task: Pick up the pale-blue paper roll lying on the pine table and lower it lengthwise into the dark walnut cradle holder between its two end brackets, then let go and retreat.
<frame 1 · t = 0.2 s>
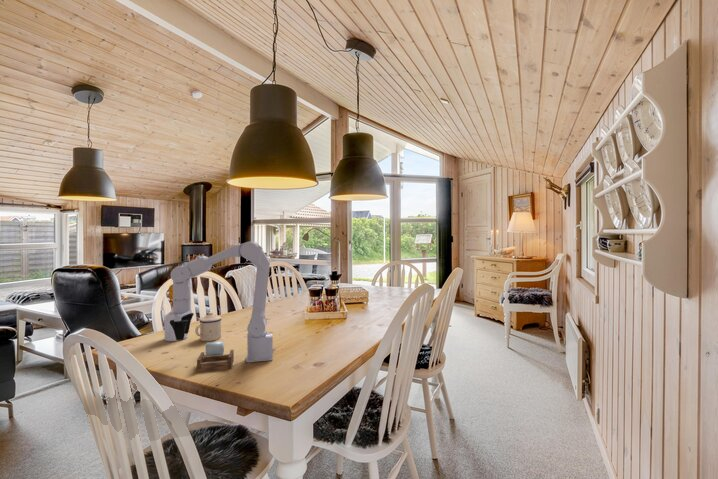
hand: (182, 336, 124), 10 cm above the table, fingers open, 7 cm apart
roll: (215, 355, 133), on the table
holder: (216, 365, 122), on the table
beige mug: (207, 339, 153), on the table
soap bottle: (176, 339, 154), on the table
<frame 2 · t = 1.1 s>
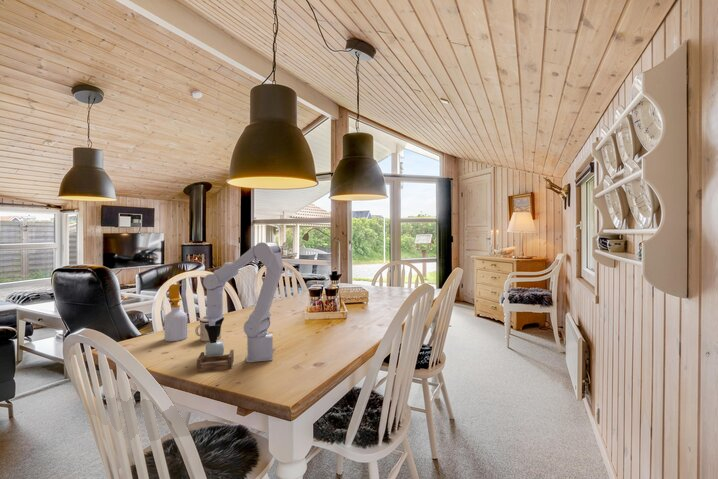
hand: (214, 339, 133), 6 cm above the table, fingers open, 7 cm apart
nothing on the table moved.
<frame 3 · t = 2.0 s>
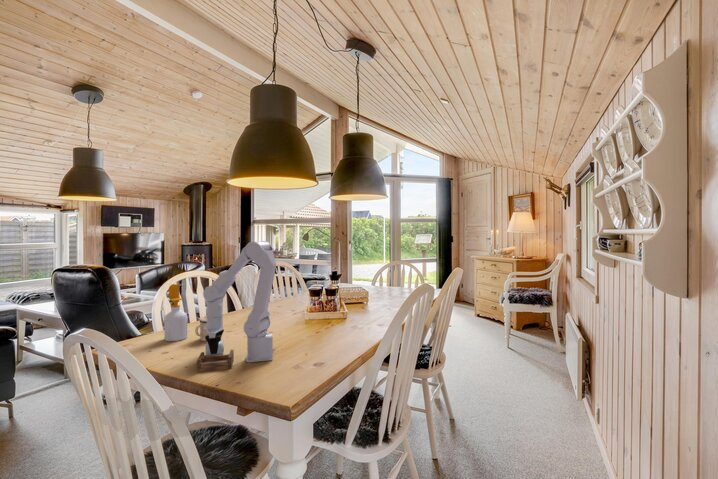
hand: (215, 351, 133), 1 cm above the table, fingers closed on roll, 5 cm apart
roll: (215, 354, 133), on the table, touching gripper
everything else where it was.
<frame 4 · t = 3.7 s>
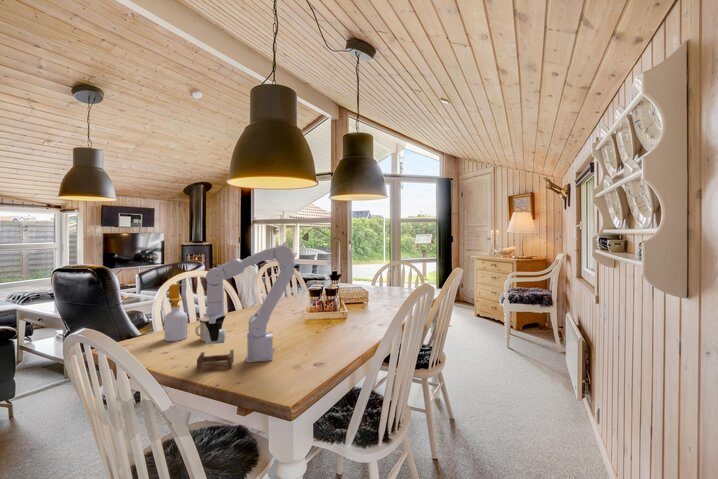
hand: (215, 338, 125), 9 cm above the table, fingers closed on roll, 5 cm apart
roll: (215, 343, 125), point 7 cm above the table, touching gripper
everything else where it was.
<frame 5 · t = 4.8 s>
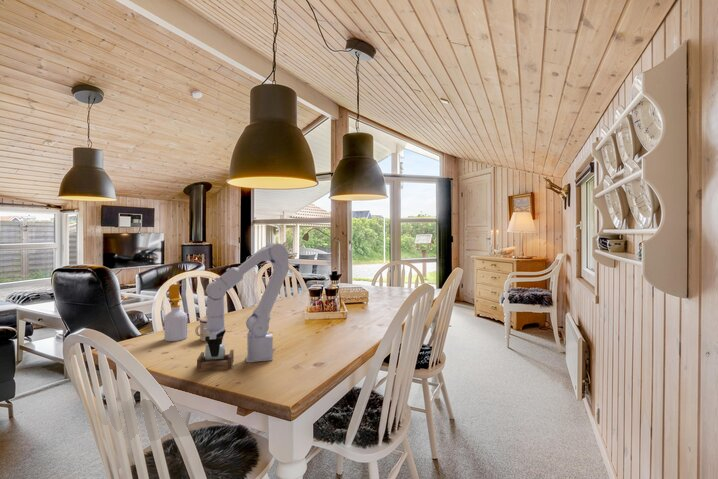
hand: (215, 353, 122), 4 cm above the table, fingers closed on roll, 5 cm apart
roll: (215, 358, 122), point 3 cm above the table, tilted 6°, touching gripper
everything else where it was.
when the fingers open (4 cm above the table, at t = 5.4 s): roll drops 1 cm, resting on holder.
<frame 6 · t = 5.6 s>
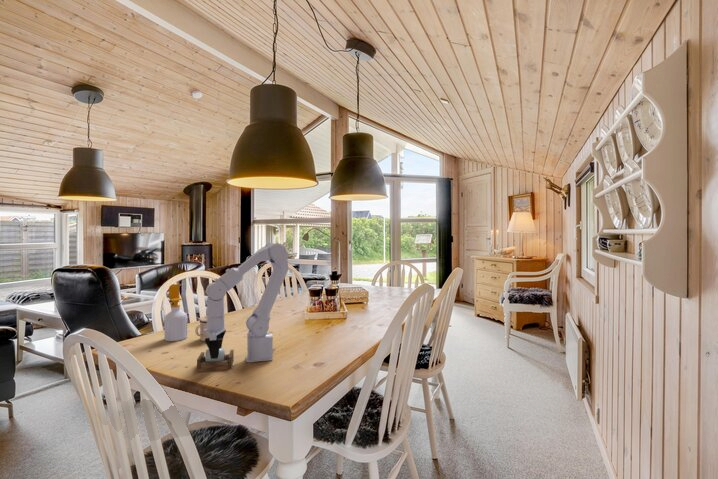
hand: (216, 354, 122), 4 cm above the table, fingers open, 7 cm apart
roll: (215, 362, 122), point 1 cm above the table, touching holder
everything else where it was.
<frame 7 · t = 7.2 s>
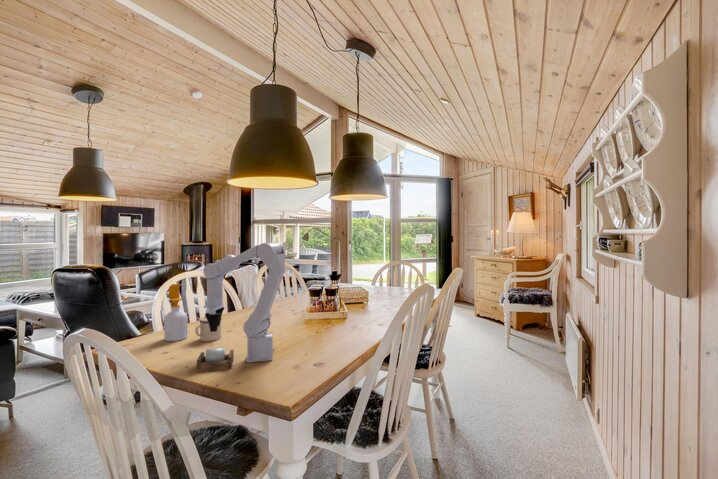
hand: (215, 328, 134), 10 cm above the table, fingers open, 7 cm apart
nothing on the table moved.
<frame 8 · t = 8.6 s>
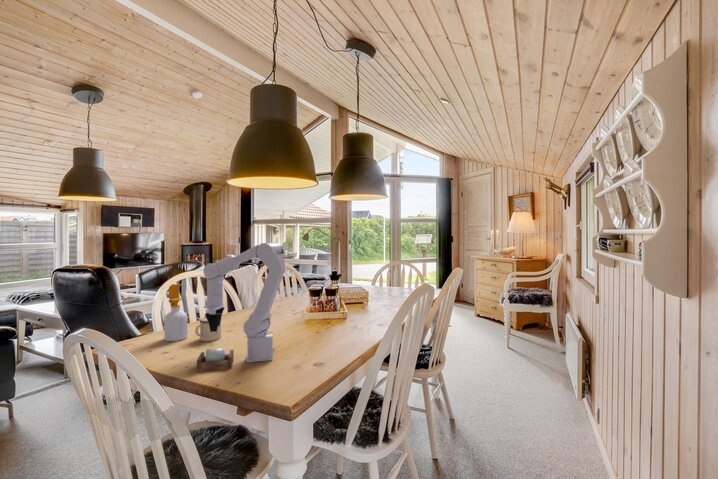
hand: (215, 328, 134), 10 cm above the table, fingers open, 7 cm apart
nothing on the table moved.
at the end: roll 0.3 cm off-centre on the holder, point 1.0 cm above the holder's base; the gripper is holding nothing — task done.
